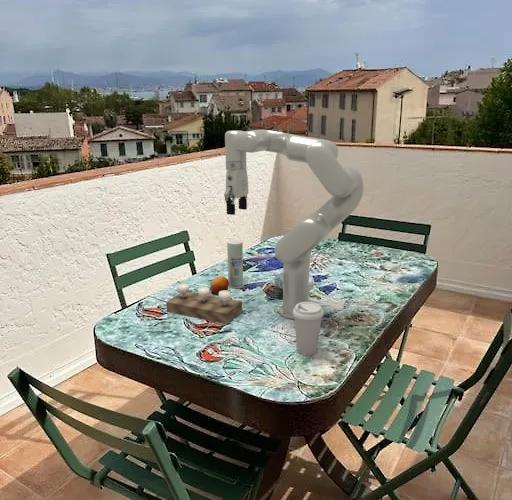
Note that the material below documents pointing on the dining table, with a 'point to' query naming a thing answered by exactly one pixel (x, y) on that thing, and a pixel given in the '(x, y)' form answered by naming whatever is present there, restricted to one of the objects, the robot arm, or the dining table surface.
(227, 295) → the knob near
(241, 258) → the spray can
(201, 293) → the knob mid
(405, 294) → the dining table surface
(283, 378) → the dining table surface
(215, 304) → the mount
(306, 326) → the coffee cup
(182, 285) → the knob far
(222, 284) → the fruit
